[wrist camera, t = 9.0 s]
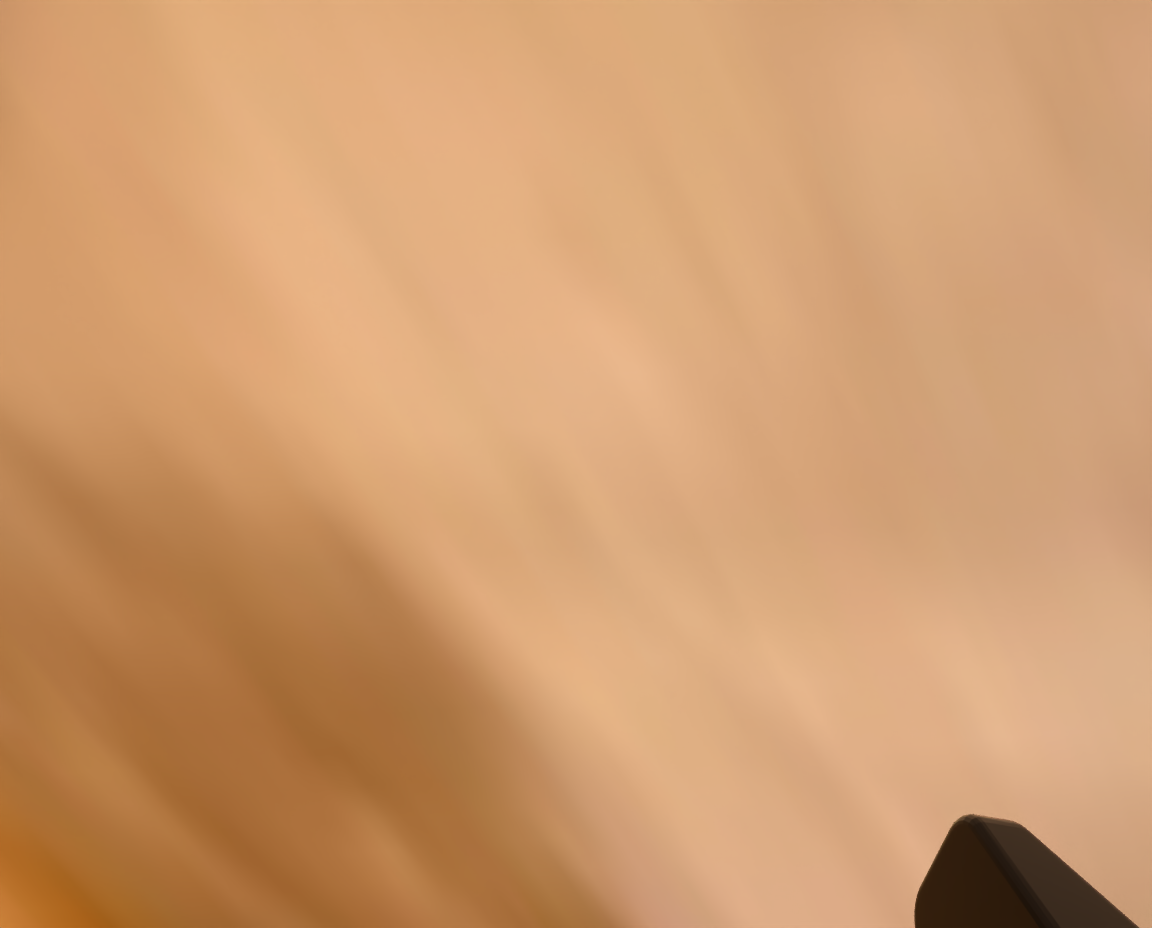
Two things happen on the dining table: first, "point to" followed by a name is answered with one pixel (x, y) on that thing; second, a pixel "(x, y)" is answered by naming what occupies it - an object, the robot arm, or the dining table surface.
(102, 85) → the dining table surface
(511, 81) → the dining table surface
